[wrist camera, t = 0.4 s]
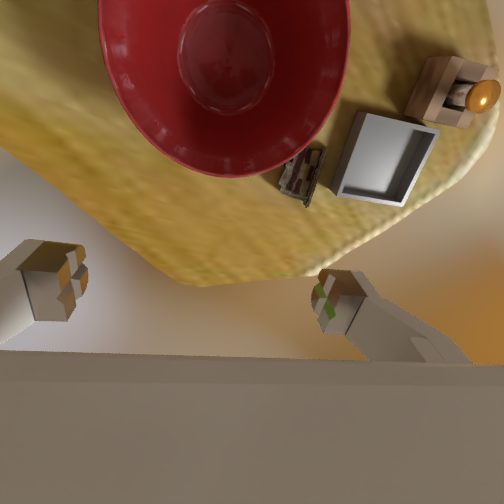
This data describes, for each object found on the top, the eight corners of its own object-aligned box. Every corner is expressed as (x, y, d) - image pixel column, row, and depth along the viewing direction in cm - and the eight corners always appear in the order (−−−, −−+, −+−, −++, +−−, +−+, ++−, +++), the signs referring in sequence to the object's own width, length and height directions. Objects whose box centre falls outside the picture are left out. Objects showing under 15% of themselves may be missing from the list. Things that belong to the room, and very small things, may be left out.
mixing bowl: (155, 158, 52) (135, 185, 39) (106, -68, 37) (47, -146, 24) (305, 148, 54) (335, 171, 41) (319, -68, 39) (373, -141, 26)
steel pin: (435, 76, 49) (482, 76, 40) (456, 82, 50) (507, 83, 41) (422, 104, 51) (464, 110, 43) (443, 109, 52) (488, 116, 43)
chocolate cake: (294, 131, 53) (276, 184, 49) (330, 142, 53) (315, 197, 49) (285, 161, 62) (269, 208, 58) (315, 171, 62) (301, 219, 58)
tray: (357, 110, 51) (367, 113, 48) (427, 126, 54) (441, 130, 51) (329, 189, 59) (336, 196, 56) (392, 199, 62) (402, 206, 59)
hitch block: (427, 57, 48) (452, 55, 43) (470, 70, 50) (499, 69, 45) (402, 114, 53) (422, 118, 48) (443, 124, 54) (466, 129, 49)
